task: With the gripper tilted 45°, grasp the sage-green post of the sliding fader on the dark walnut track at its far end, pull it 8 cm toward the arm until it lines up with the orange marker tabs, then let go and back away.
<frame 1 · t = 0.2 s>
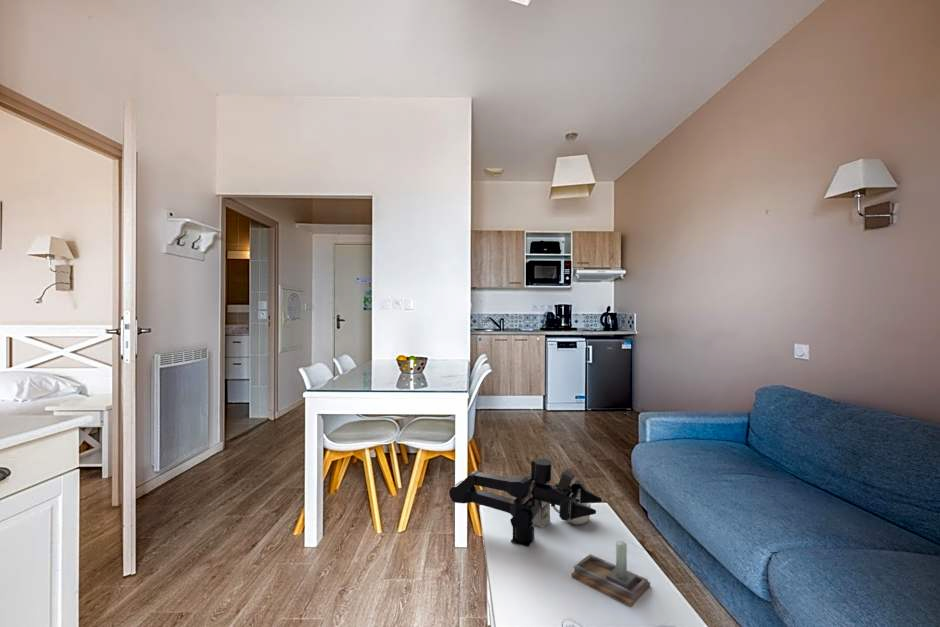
hand: (598, 505, 135), 17 cm above the table, tool horizontal, fingers open, 9 cm apart
coffee box: (535, 521, 160), on the table
teacup: (571, 521, 160), on the table
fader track: (610, 581, 124), on the table
fader knob: (621, 563, 121), point 7 cm above the table, slide at 8.0 cm
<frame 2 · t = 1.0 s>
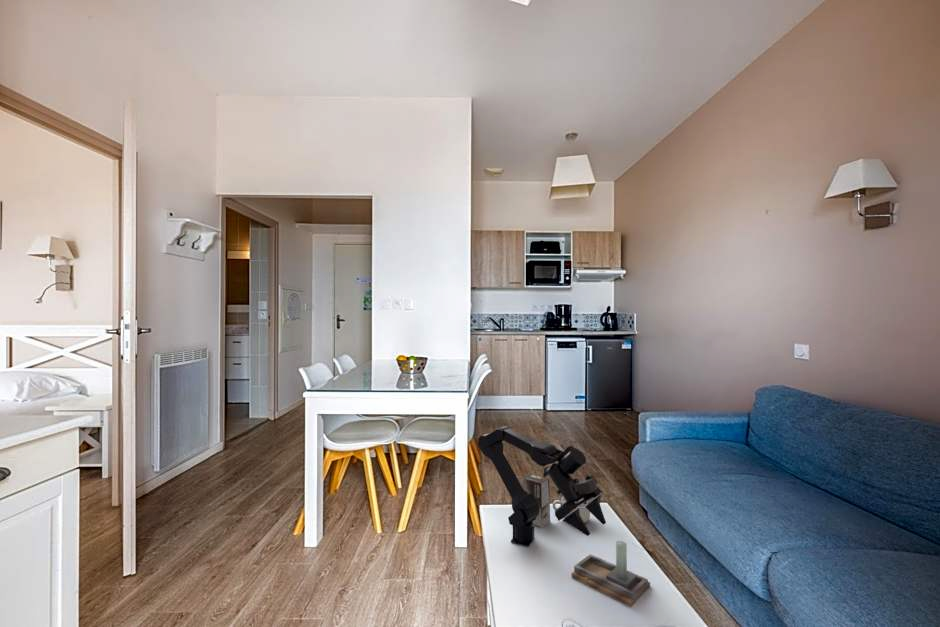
hand: (597, 529, 126), 14 cm above the table, tool tilted 45°, fingers open, 9 cm apart
nothing on the table moved.
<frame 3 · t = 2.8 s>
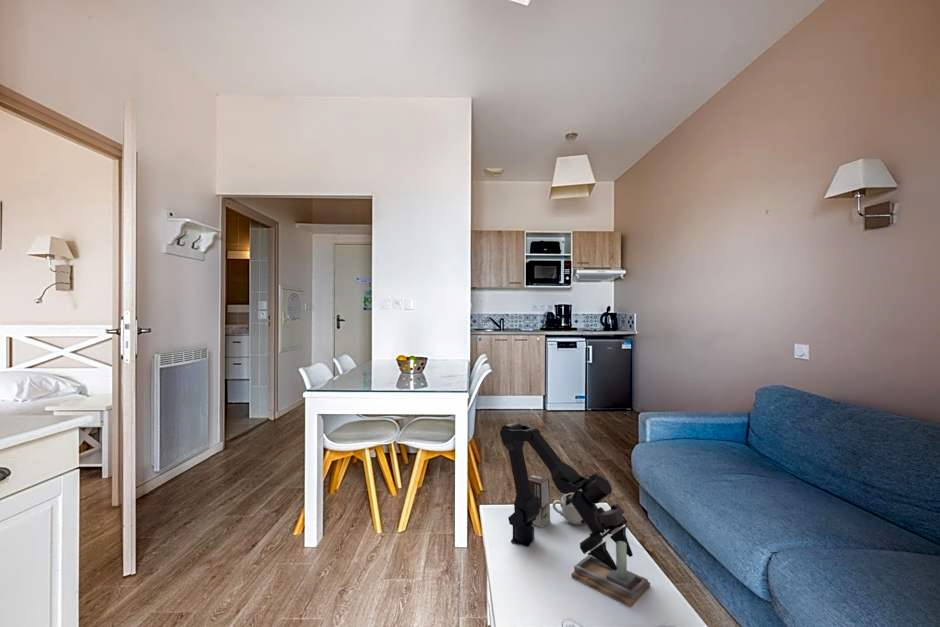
hand: (624, 562, 120), 7 cm above the table, tool tilted 45°, fingers open, 9 cm apart
nothing on the table moved.
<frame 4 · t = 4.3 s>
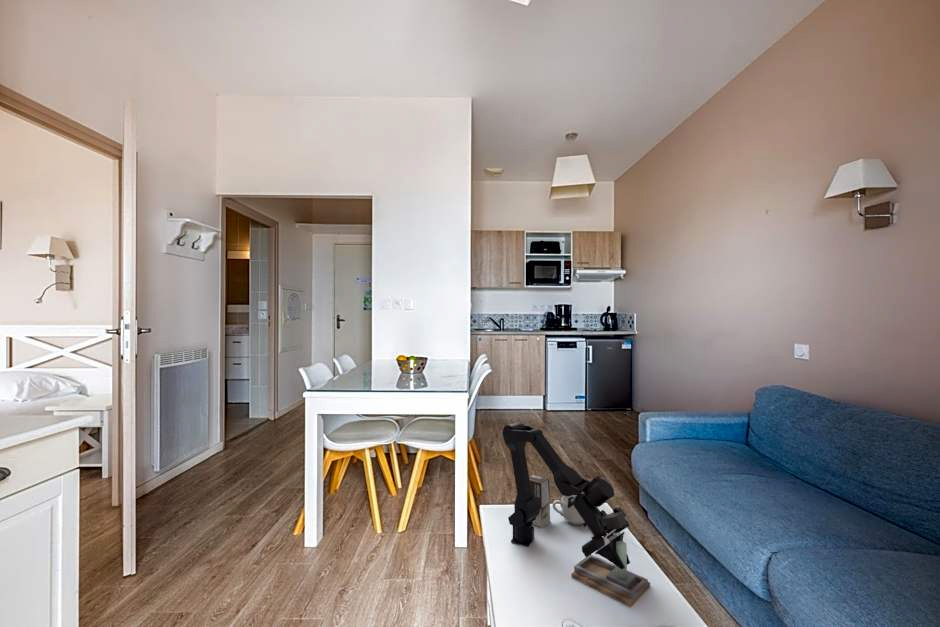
hand: (626, 566, 120), 7 cm above the table, tool tilted 45°, fingers closed on fader knob, 3 cm apart
fader knob: (621, 563, 121), point 7 cm above the table, slide at 8.0 cm, touching gripper
everything else where it was.
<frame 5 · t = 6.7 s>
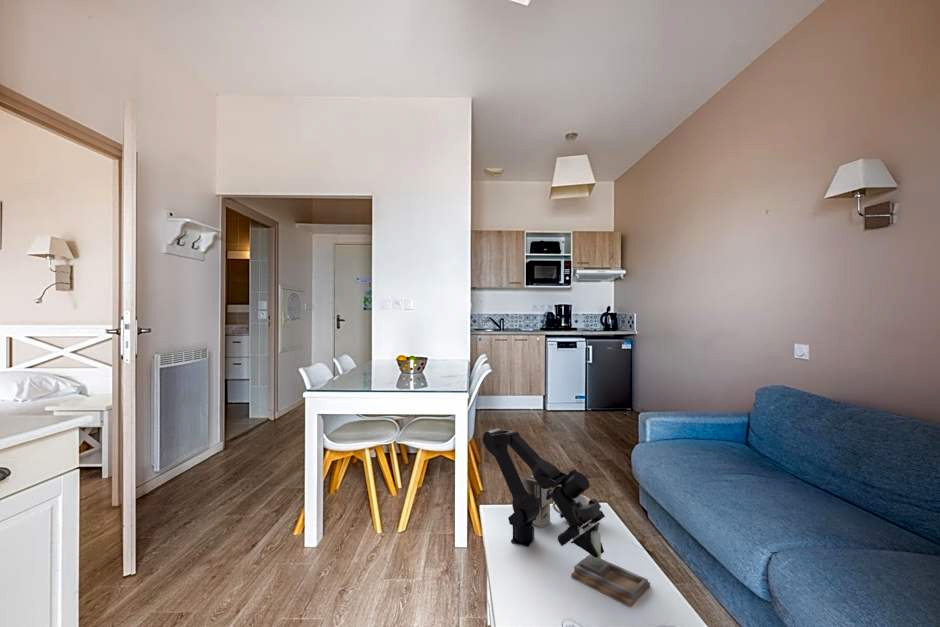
hand: (600, 554, 126), 7 cm above the table, tool tilted 45°, fingers closed on fader knob, 3 cm apart
fader knob: (595, 551, 127), point 7 cm above the table, slide at 0.0 cm, touching gripper
everything else where it was.
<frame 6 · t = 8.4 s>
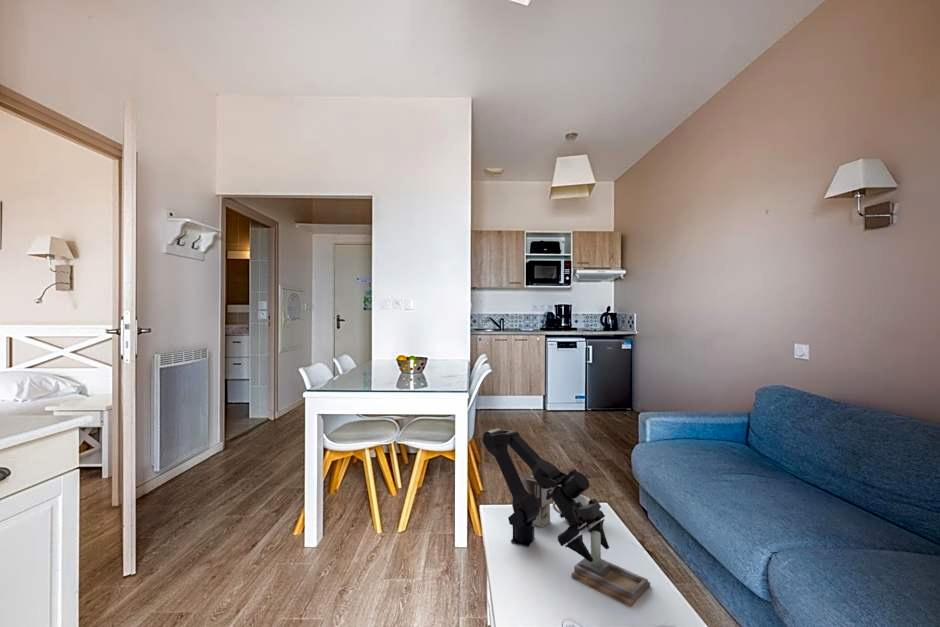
hand: (600, 554, 126), 7 cm above the table, tool tilted 45°, fingers open, 9 cm apart
fader knob: (595, 551, 127), point 7 cm above the table, slide at 0.0 cm
everything else where it was.
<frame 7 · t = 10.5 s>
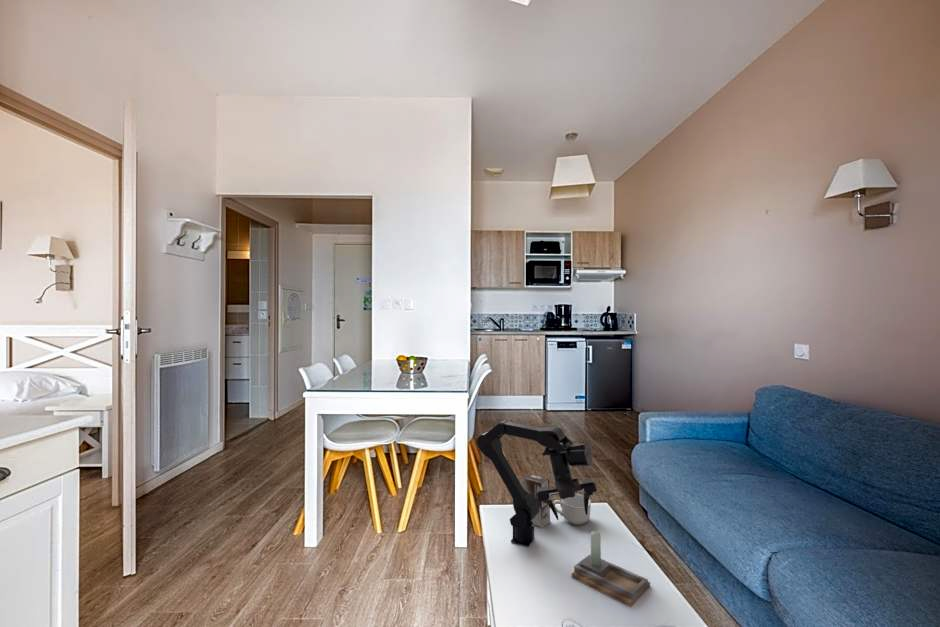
hand: (572, 517, 137), 12 cm above the table, tool pointing down, fingers open, 9 cm apart
nothing on the table moved.
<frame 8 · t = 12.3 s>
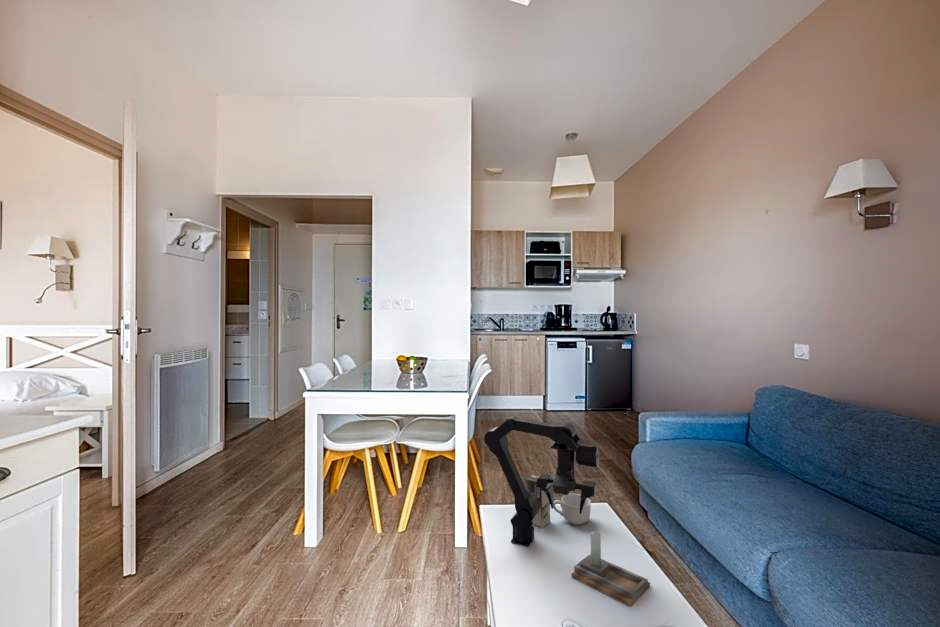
hand: (566, 510, 140), 13 cm above the table, tool pointing down, fingers open, 9 cm apart
nothing on the table moved.
at the end: fader knob slide at 0.0 cm; the gripper is holding nothing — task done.
